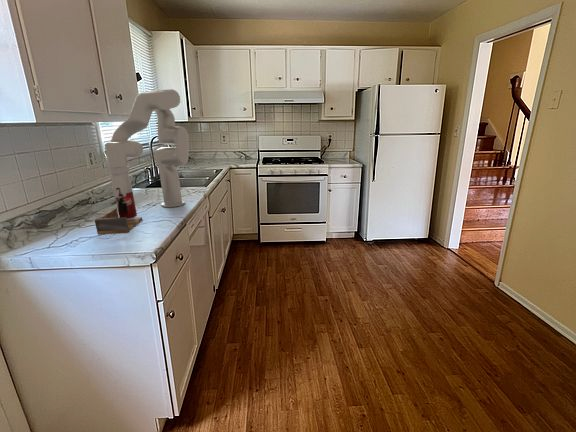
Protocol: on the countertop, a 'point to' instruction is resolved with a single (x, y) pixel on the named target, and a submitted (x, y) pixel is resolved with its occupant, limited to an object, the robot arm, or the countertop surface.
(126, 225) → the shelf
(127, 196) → the soda can
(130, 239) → the countertop surface
